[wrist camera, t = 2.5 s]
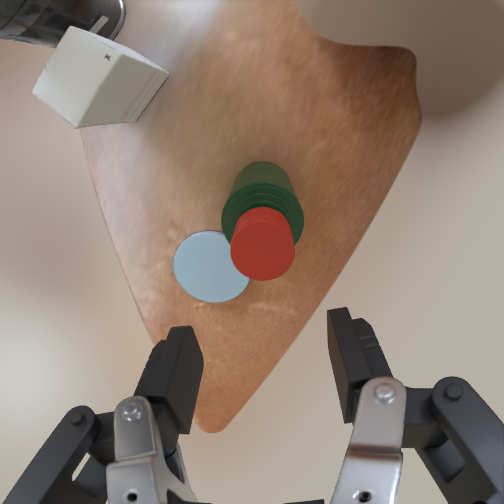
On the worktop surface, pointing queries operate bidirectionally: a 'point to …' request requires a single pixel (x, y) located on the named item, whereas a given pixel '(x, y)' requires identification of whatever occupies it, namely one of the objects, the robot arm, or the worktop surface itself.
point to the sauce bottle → (262, 197)
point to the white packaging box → (97, 80)
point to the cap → (262, 244)
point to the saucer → (208, 268)
